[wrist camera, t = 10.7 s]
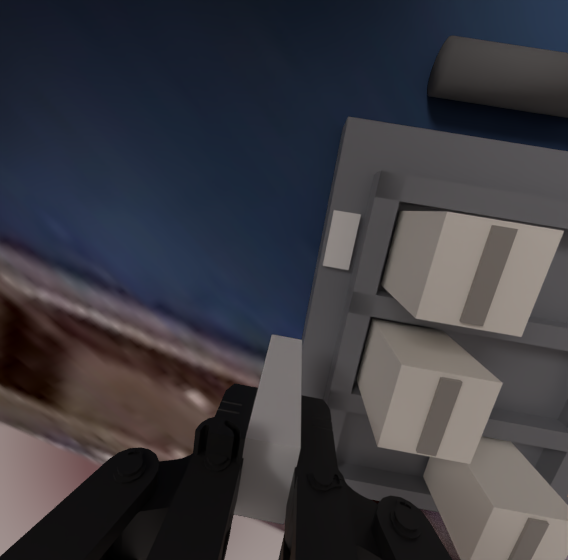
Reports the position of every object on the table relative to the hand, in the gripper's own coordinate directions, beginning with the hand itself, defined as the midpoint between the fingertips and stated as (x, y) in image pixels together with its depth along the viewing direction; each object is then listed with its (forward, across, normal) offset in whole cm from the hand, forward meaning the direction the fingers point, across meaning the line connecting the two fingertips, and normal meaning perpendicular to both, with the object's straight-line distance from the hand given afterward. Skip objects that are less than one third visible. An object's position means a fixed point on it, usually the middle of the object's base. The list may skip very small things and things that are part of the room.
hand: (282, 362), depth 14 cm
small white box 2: (+3, +12, -6) cm, 14 cm away
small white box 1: (+3, +7, +6) cm, 9 cm away
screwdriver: (+5, +13, +15) cm, 21 cm away
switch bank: (+5, +11, +1) cm, 12 cm away
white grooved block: (+3, +7, 0) cm, 7 cm away
